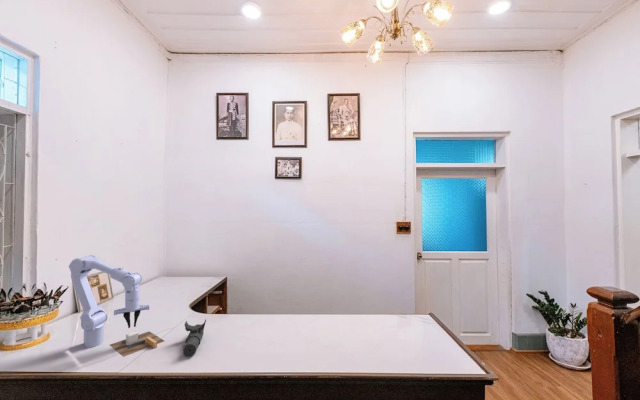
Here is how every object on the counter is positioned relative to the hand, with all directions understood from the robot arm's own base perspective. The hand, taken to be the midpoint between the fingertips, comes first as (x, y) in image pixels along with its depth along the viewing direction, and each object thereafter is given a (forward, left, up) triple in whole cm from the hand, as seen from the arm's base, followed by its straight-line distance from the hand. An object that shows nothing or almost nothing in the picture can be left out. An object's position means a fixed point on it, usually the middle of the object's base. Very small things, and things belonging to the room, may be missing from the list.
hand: (132, 326), depth 139 cm
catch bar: (+9, +5, -8) cm, 13 cm away
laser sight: (+24, +19, -10) cm, 32 cm away
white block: (0, 0, -8) cm, 8 cm away
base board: (+1, +2, -9) cm, 10 cm away
